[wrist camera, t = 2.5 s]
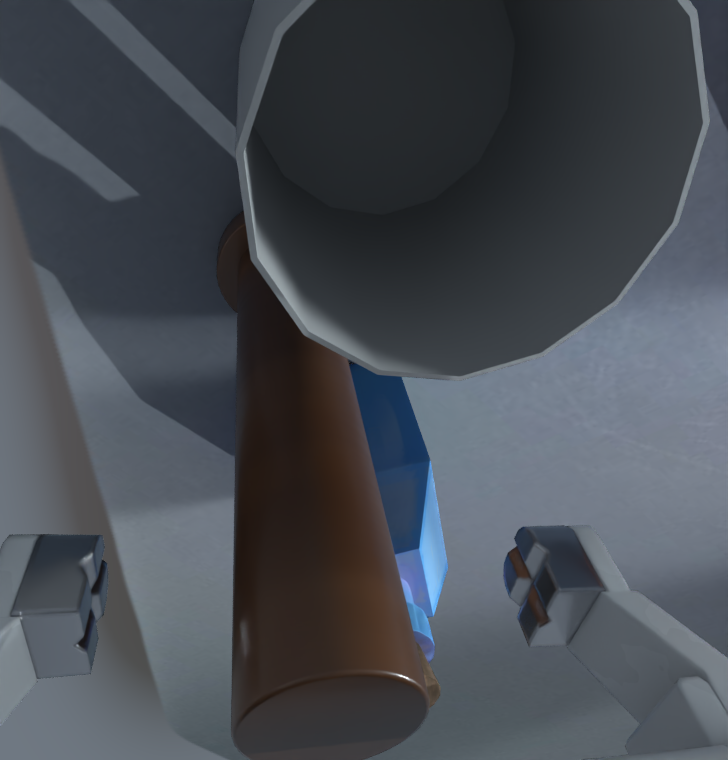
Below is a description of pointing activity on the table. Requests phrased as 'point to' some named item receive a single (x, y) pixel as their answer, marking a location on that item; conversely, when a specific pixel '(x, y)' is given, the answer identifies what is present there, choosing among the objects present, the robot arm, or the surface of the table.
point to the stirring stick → (309, 548)
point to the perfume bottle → (406, 501)
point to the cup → (463, 168)
